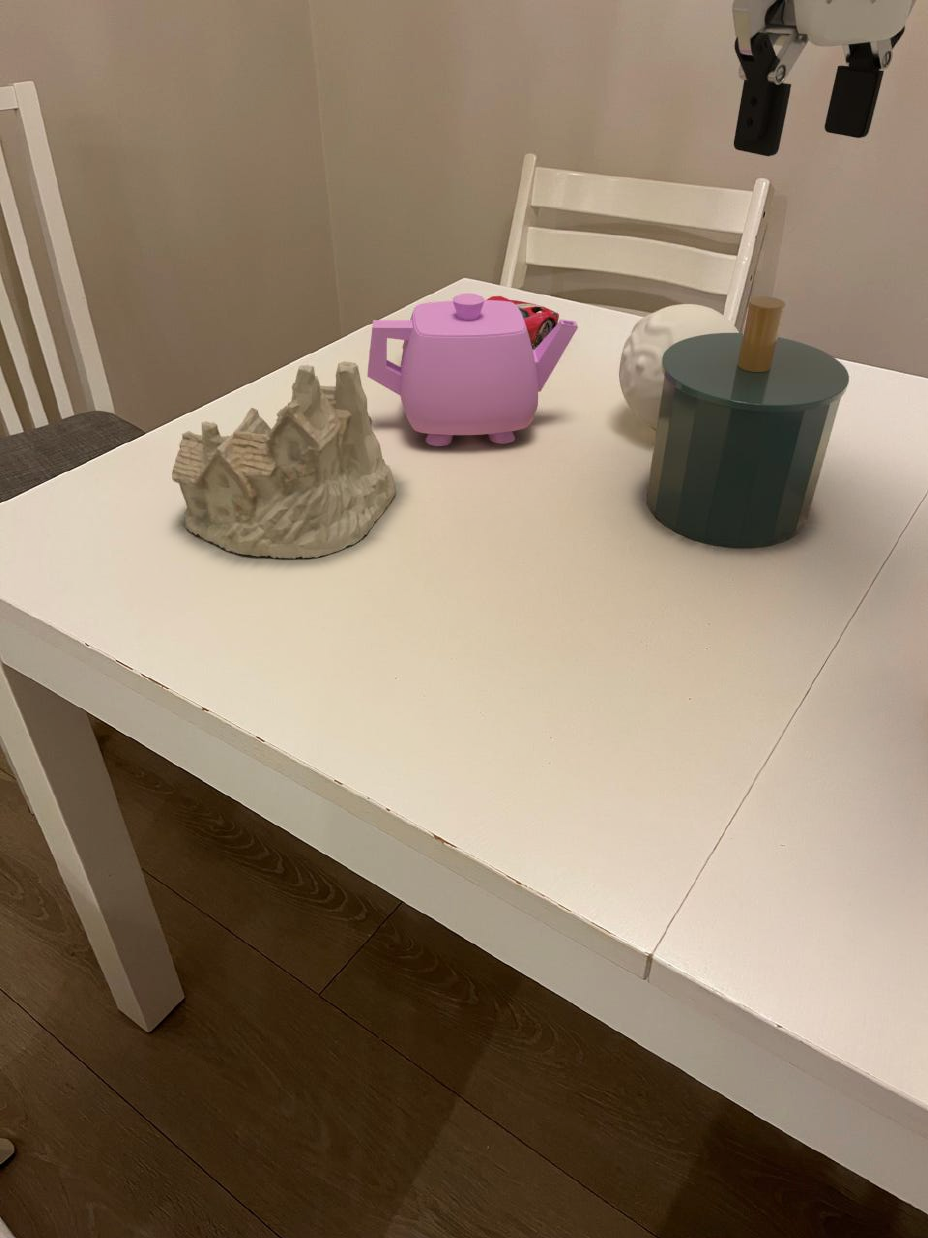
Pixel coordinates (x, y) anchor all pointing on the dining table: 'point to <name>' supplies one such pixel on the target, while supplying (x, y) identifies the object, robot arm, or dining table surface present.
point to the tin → (735, 469)
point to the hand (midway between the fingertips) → (801, 142)
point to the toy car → (533, 318)
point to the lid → (755, 366)
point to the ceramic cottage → (289, 474)
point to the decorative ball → (661, 352)
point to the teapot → (467, 367)
